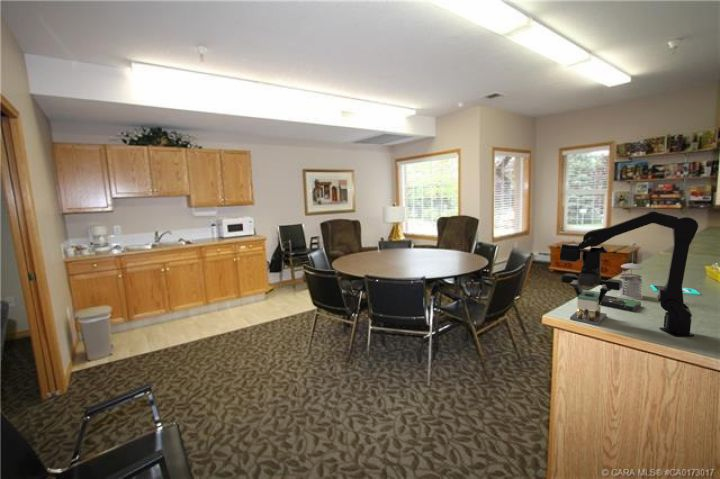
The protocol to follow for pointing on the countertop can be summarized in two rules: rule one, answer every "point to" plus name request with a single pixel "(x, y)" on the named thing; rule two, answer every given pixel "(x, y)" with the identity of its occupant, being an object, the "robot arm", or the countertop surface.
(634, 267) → the french press
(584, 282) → the robot arm
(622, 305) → the disk drive
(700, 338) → the countertop surface
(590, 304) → the board
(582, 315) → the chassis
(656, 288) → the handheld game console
